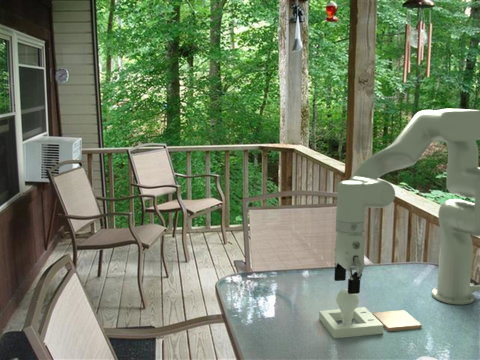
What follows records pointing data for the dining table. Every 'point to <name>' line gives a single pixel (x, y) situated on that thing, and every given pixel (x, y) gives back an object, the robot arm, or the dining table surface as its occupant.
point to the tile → (397, 320)
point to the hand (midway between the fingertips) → (346, 286)
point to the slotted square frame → (361, 315)
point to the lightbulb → (347, 305)
